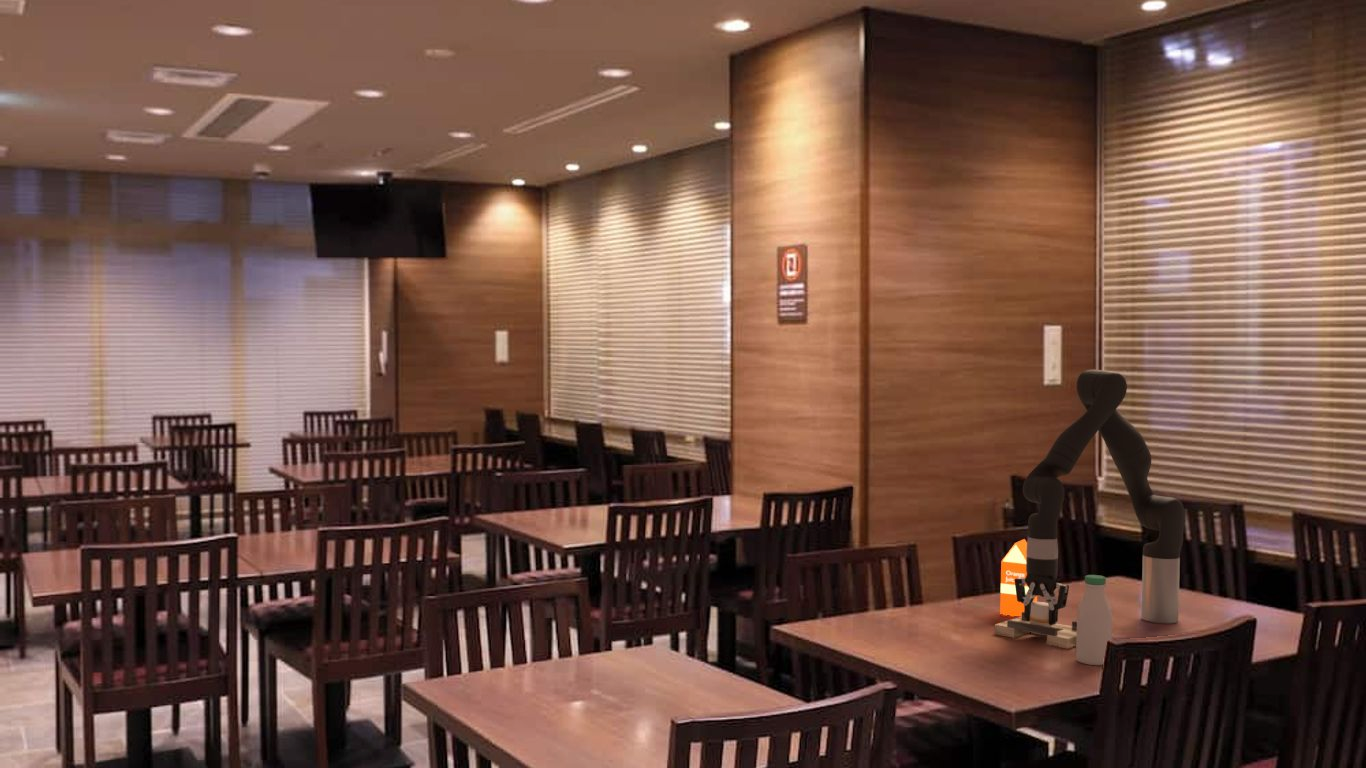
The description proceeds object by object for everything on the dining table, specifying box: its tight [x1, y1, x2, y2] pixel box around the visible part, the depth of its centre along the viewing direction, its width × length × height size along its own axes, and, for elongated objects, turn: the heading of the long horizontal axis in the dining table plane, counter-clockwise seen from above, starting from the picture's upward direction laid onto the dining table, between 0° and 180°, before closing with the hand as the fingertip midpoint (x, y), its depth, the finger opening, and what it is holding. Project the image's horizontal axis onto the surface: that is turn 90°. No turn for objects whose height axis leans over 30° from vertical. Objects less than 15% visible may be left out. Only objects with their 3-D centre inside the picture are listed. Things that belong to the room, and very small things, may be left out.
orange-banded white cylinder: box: [1030, 601, 1051, 636], centre depth 303 cm, size 5×5×7 cm
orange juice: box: [999, 538, 1038, 617], centre depth 331 cm, size 8×9×20 cm
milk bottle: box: [1075, 574, 1113, 666], centre depth 281 cm, size 8×8×20 cm
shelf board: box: [994, 612, 1077, 649], centre depth 305 cm, size 13×20×4 cm, turn 45°
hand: (1040, 622), depth 304 cm, fingers open, 5 cm apart
